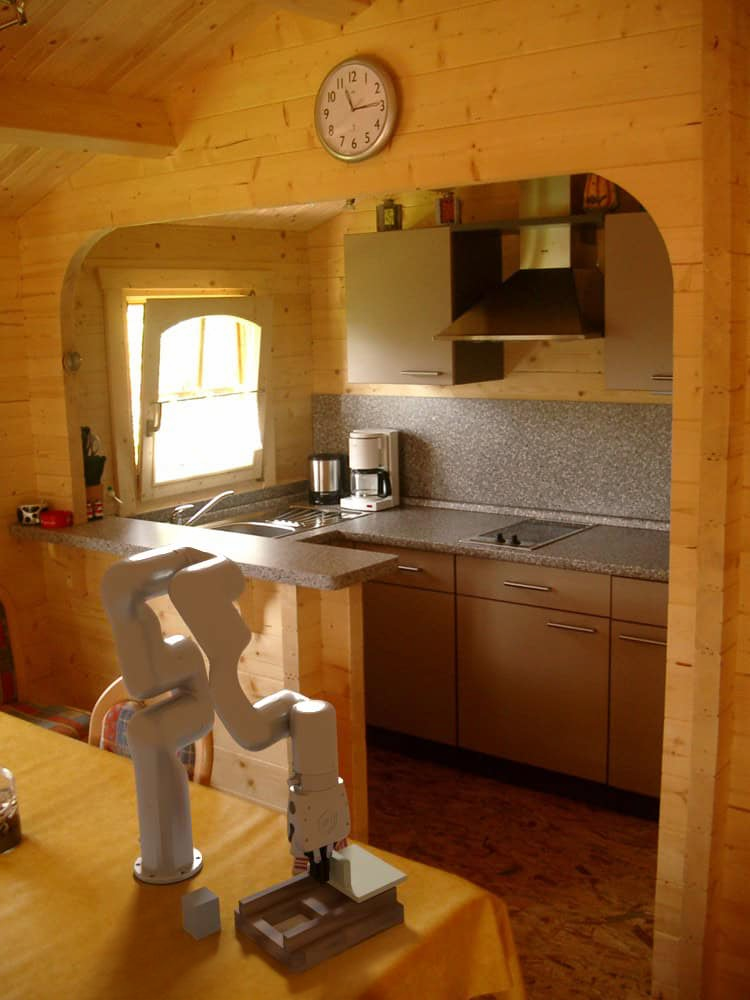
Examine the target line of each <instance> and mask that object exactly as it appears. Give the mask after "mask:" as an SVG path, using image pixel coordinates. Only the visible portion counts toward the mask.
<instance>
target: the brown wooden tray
mask: <svg viewBox="0 0 750 1000" xmlns="http://www.w3.org/2000/svg"><path fill="white" fill-rule="evenodd" d="M404 906H405V905H404V904H403V903H401V902H400V901H398V891H397V885H396V886H394V887H392V888H390V889H388V890H386V891H384V892H382V893H379V894H377V895H375V896H373V897H371V898H369V899H367V900H365V901H362V902H360V903H358V902H356V901H355V900H353V899H352V898H350V897H349V896H347V895H346V894H344V893H343V892H341V891H339V890H338V889H336V888H335V887H333V886H332V885H330V884H329V883H327V882H324V883H323V884H320V883H318V882H317V881H316V880H314V879H313V878H312V877H311V875H310V871H309V870H308V871H306V872H303V873H301V874H299V873H298V874H297V875H294V876H292V877H290V878H287V879H285V880H283V881H281V882H278V883H276V884H273V885H271V886H268V887H266V888H264V889H262V890H259V891H257V892H255V893H252V894H250V895H247V896H246V897H243V898H241V899H238V907H237V908H235V909H233V918H234V919H233V920H234V927H235V928H237V929H238V930H239V931H240V932H241V933H243V934H244V935H245V936H247V937H248V938H249V939H250V940H251V941H253V943H255V944H256V945H258V946H259V947H260V948H262V949H263V950H264V951H265V952H266V953H268V954H269V955H270V956H271V957H272V958H274V959H275V960H277V961H278V963H280V964H282V965H283V966H284V967H285V968H286V969H288V970H289V971H290V972H291V973H293V974H294V975H295V976H297V975H300V974H302V973H304V972H306V971H308V970H310V969H311V968H314V967H316V966H318V965H320V964H322V963H324V962H326V961H328V960H330V959H332V958H334V957H336V956H337V955H341V954H342V953H344V952H346V951H348V950H350V949H352V948H355V947H356V946H358V945H360V944H362V943H364V942H366V941H368V940H370V939H372V938H374V937H376V936H378V935H380V934H383V933H384V932H386V931H388V930H390V929H393V928H394V927H396V926H399V925H400V924H402V923H404V922H405V907H404Z"/></svg>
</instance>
